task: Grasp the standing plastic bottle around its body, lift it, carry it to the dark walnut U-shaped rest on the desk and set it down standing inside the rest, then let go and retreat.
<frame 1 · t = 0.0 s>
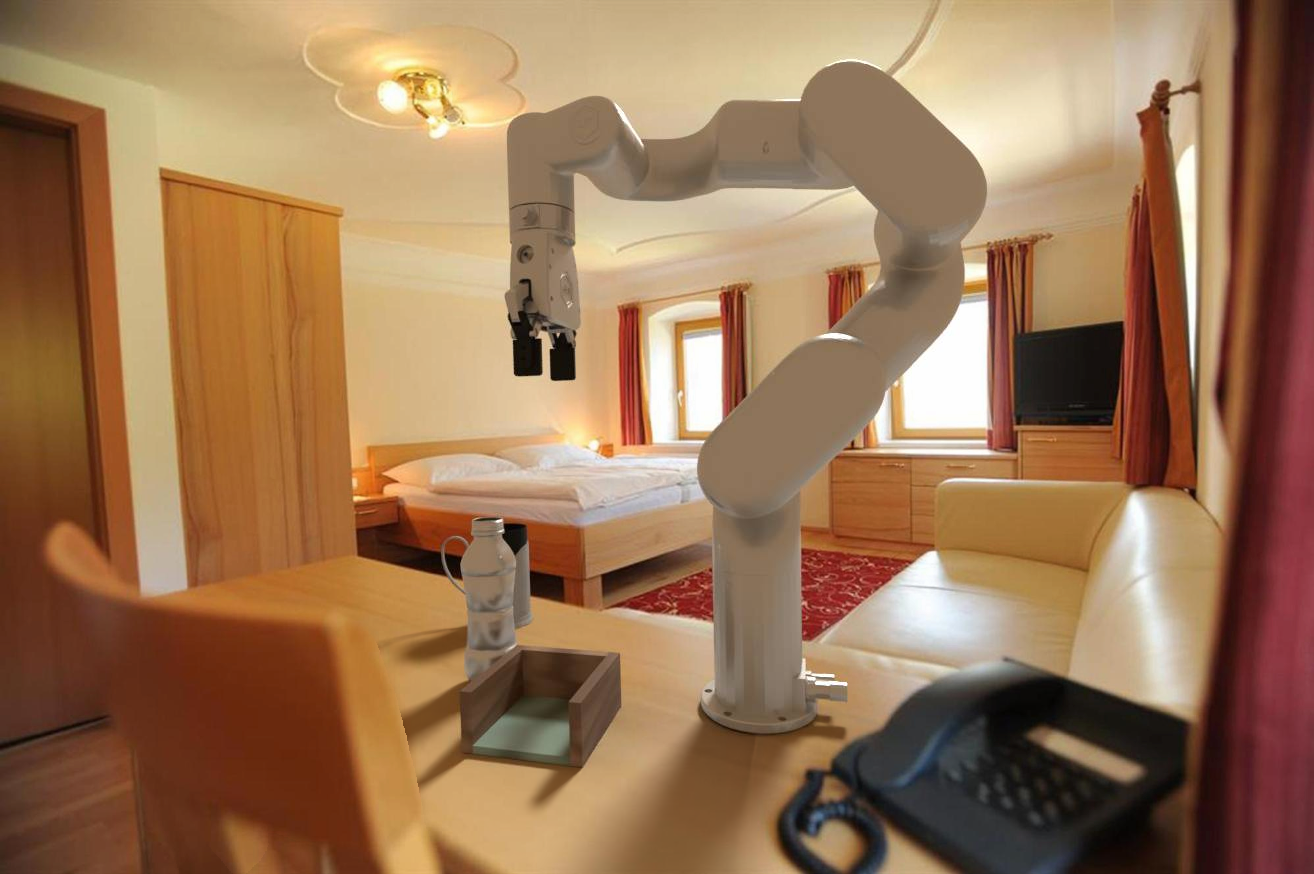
hand: (546, 378, 71), 37 cm above the table, tool pointing down, fingers open, 9 cm apart
plastic bottle: (493, 683, 74), on the table
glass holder: (488, 622, 97), on the table
u rest: (547, 727, 63), on the table
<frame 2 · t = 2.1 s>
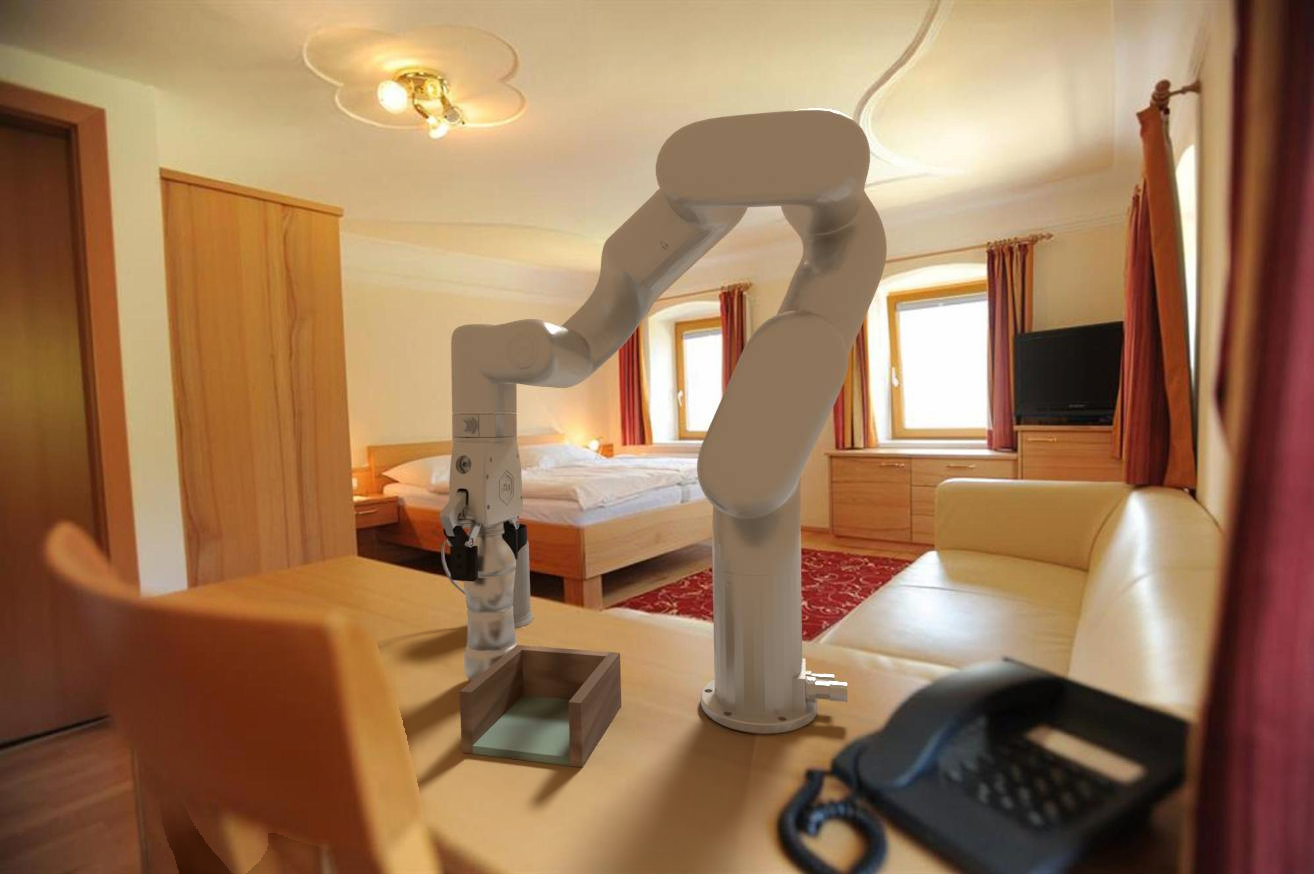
hand: (486, 569, 74), 14 cm above the table, tool pointing down, fingers open, 9 cm apart
nothing on the table moved.
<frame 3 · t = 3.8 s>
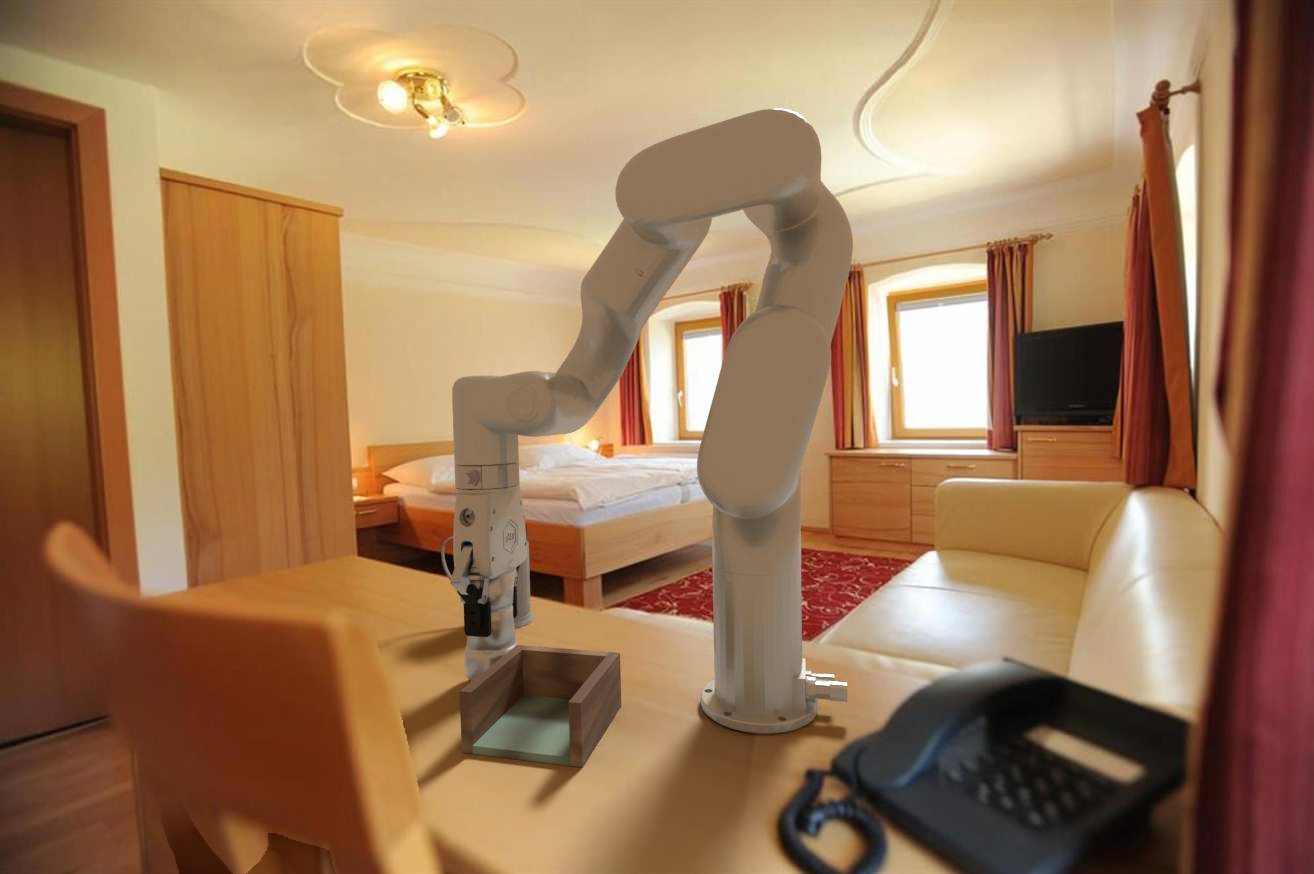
hand: (492, 624, 74), 7 cm above the table, tool pointing down, fingers closed on plastic bottle, 5 cm apart
plastic bottle: (492, 683, 74), on the table, touching gripper
everything else where it was.
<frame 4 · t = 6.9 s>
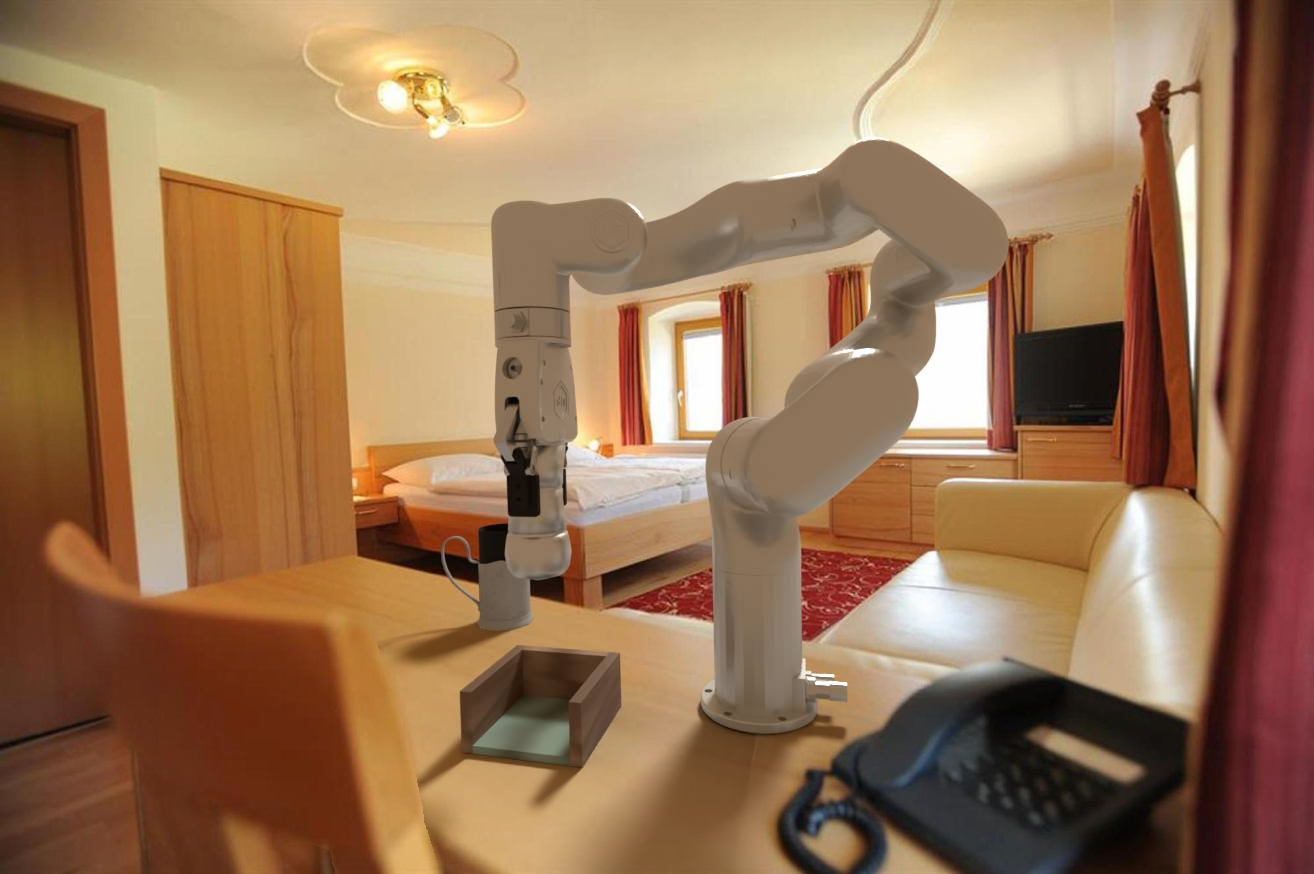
hand: (538, 509, 62), 23 cm above the table, tool pointing down, fingers closed on plastic bottle, 5 cm apart
plastic bottle: (539, 579, 62), point 16 cm above the table, touching gripper
everything else where it was.
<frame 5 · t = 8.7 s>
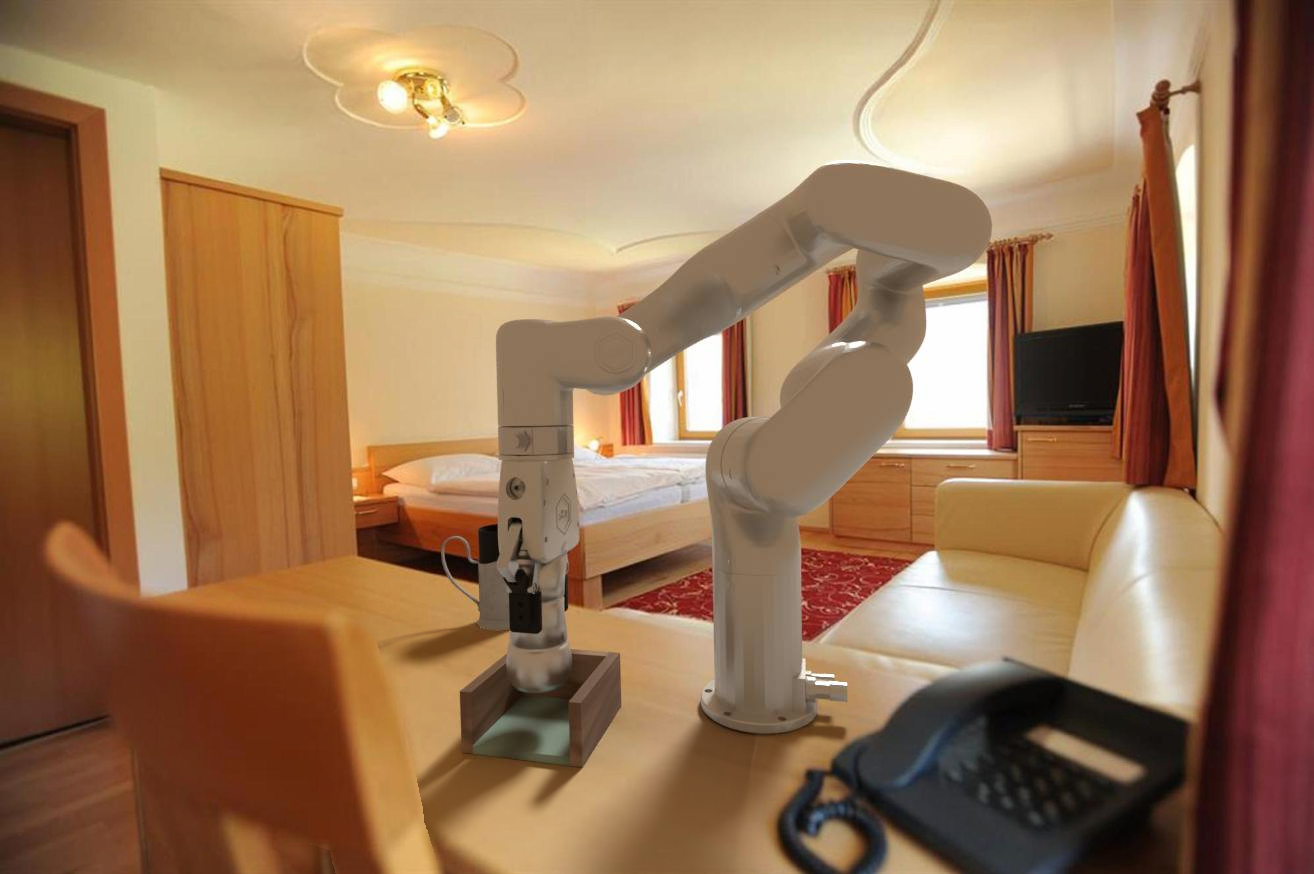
hand: (540, 619, 62), 12 cm above the table, tool pointing down, fingers closed on plastic bottle, 5 cm apart
plastic bottle: (539, 688, 62), point 4 cm above the table, touching gripper
everything else where it was.
when the fingers open (9 cm above the table, at t = 10.2 s): plastic bottle drops 1 cm, resting on u rest.
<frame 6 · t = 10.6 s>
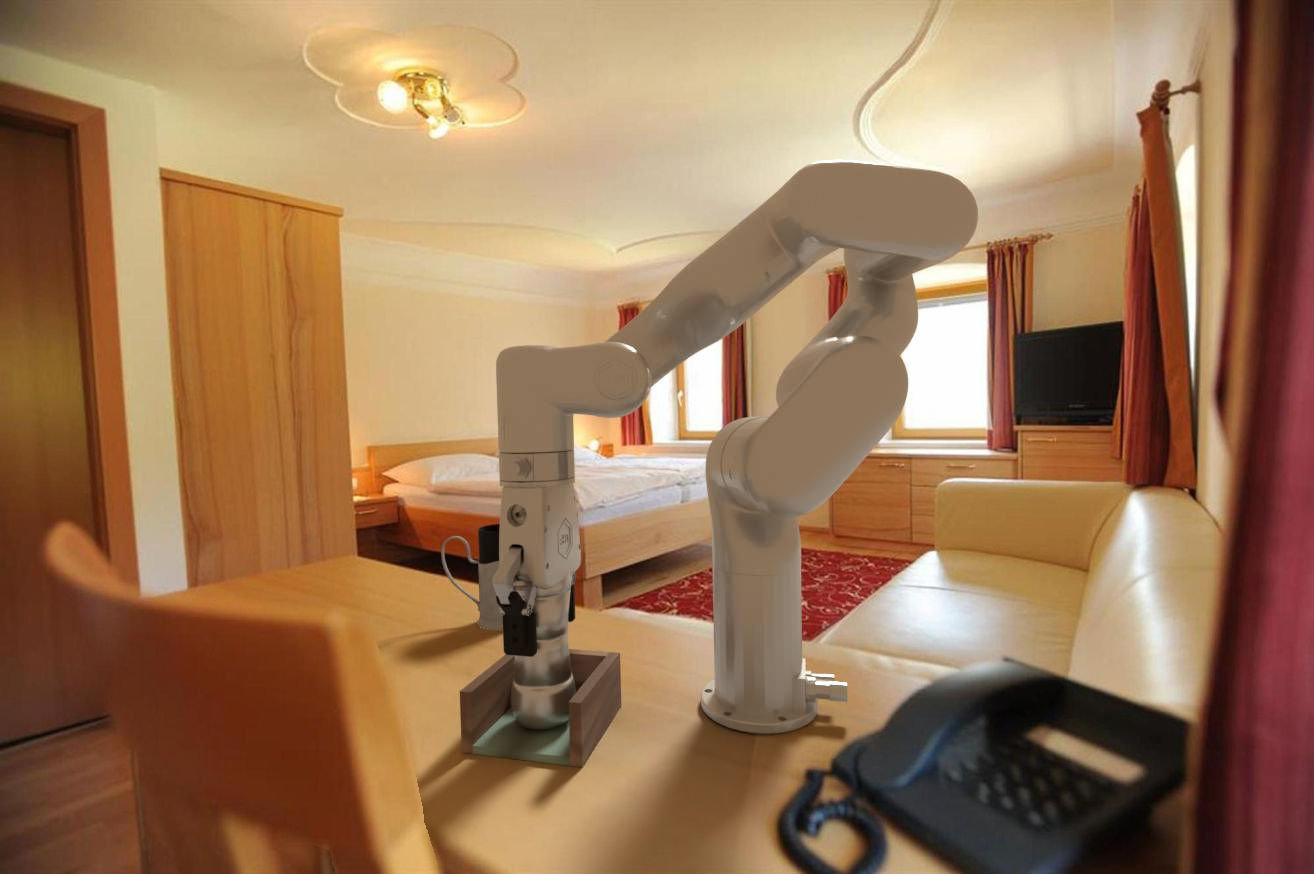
hand: (542, 636, 62), 10 cm above the table, tool pointing down, fingers open, 9 cm apart
plastic bottle: (544, 723, 63), point 1 cm above the table, touching u rest
everything else where it was.
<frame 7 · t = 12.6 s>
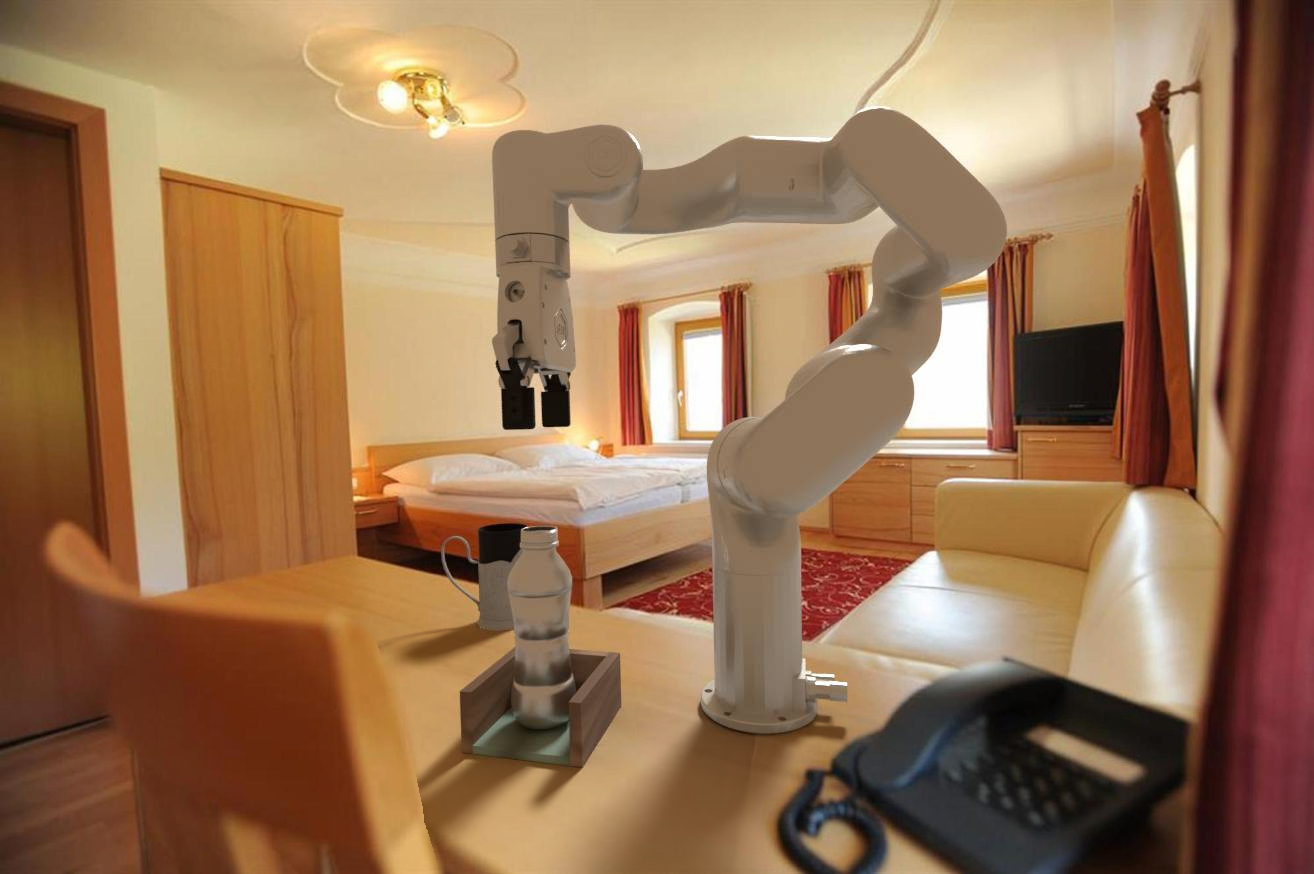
hand: (539, 428, 63), 31 cm above the table, tool pointing down, fingers open, 9 cm apart
nothing on the table moved.
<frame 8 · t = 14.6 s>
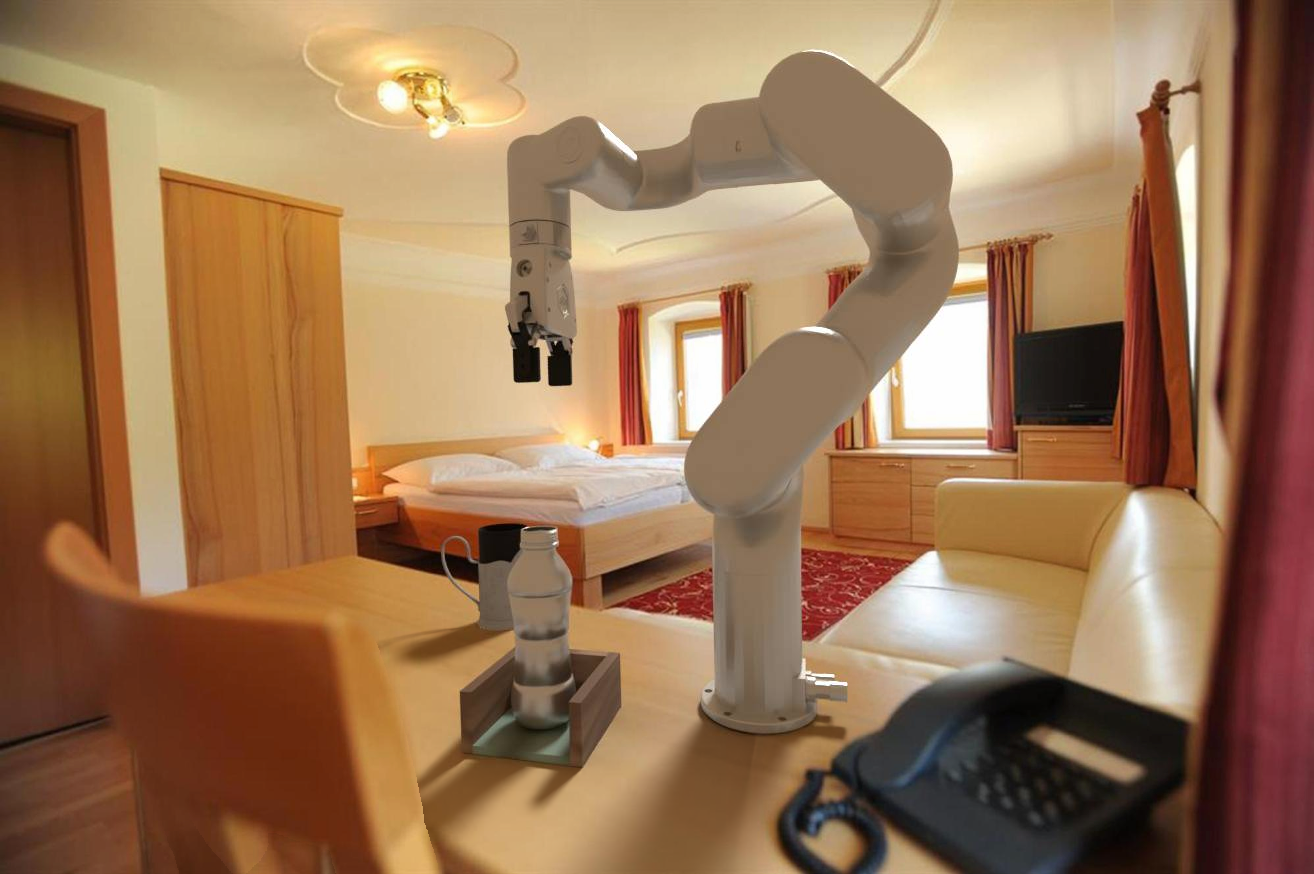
hand: (544, 384, 76), 36 cm above the table, tool pointing down, fingers open, 9 cm apart
nothing on the table moved.
at the end: plastic bottle inside the target area on the u rest (0.1 cm from its centre), point 0.6 cm above the u rest's base; plastic bottle tilted 0°; the gripper is holding nothing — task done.
